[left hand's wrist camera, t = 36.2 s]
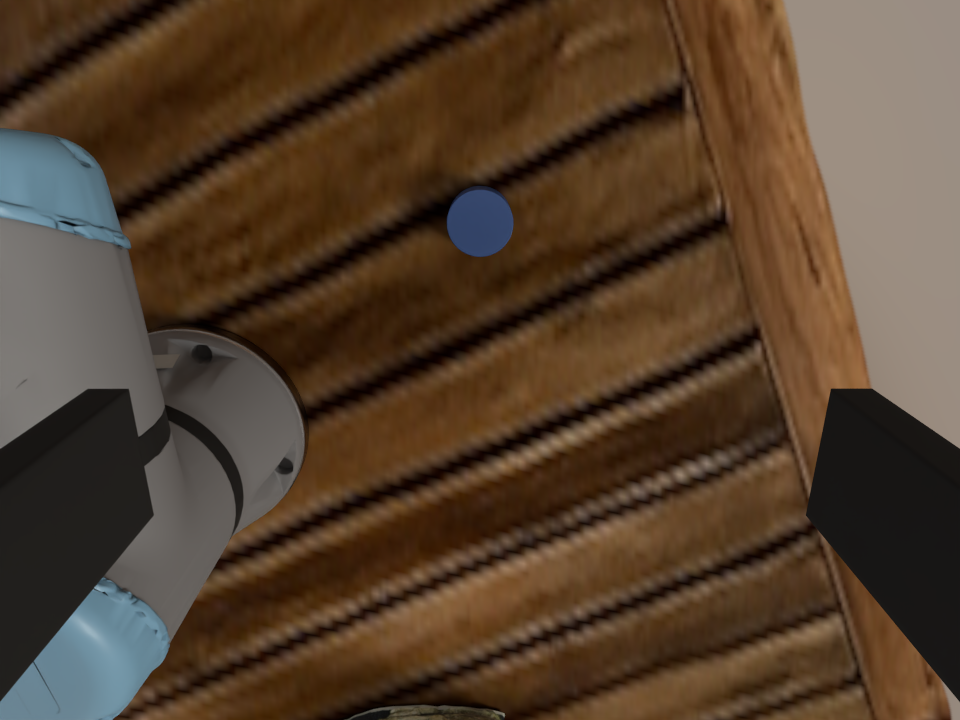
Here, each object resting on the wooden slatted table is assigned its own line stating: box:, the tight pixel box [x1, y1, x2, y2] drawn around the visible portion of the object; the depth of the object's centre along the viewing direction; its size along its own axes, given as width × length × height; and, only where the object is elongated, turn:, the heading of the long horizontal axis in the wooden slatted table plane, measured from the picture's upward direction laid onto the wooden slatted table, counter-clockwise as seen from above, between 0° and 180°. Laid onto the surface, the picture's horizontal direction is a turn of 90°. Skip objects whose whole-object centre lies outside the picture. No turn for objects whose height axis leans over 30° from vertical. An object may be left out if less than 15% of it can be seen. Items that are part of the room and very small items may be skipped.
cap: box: [447, 186, 513, 257], centre depth 41 cm, size 4×4×2 cm
